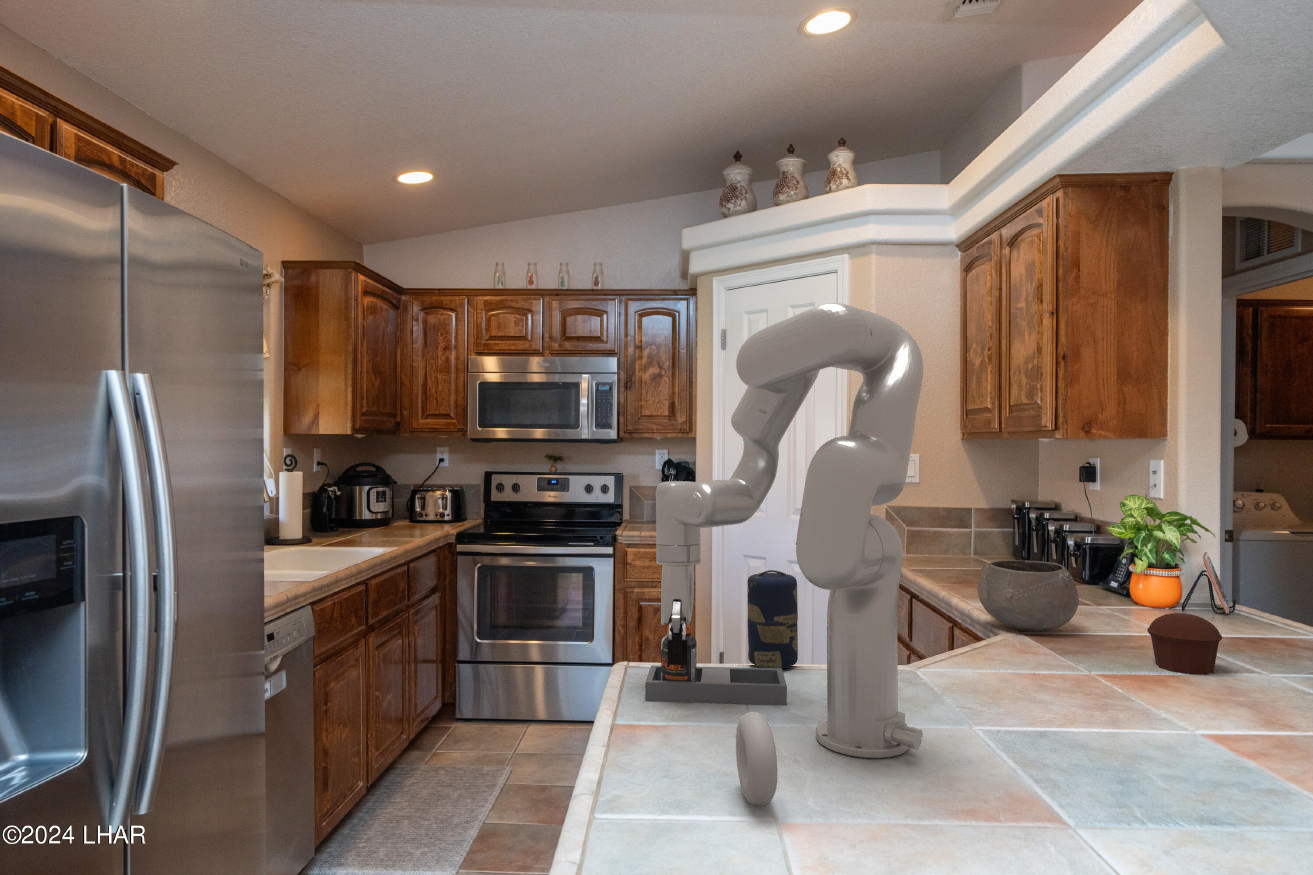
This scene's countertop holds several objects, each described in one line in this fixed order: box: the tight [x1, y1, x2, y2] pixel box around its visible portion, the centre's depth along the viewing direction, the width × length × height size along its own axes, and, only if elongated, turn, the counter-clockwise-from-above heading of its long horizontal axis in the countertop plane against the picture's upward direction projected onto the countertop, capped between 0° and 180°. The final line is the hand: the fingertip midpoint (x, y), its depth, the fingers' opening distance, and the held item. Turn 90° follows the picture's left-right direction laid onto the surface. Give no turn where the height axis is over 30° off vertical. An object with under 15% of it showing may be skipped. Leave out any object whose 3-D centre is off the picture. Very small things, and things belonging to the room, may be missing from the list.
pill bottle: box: [660, 623, 698, 682], centre depth 127 cm, size 6×6×11 cm
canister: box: [746, 569, 799, 669], centre depth 144 cm, size 10×10×18 cm
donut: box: [735, 711, 778, 807], centre depth 87 cm, size 10×4×10 cm, turn 5°
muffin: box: [1147, 612, 1223, 676], centre depth 143 cm, size 12×11×10 cm
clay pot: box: [976, 559, 1080, 632], centre depth 176 cm, size 21×21×15 cm
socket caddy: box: [644, 664, 788, 706], centre depth 127 cm, size 23×10×3 cm, turn 85°
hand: (679, 656), depth 127 cm, fingers open, 9 cm apart
